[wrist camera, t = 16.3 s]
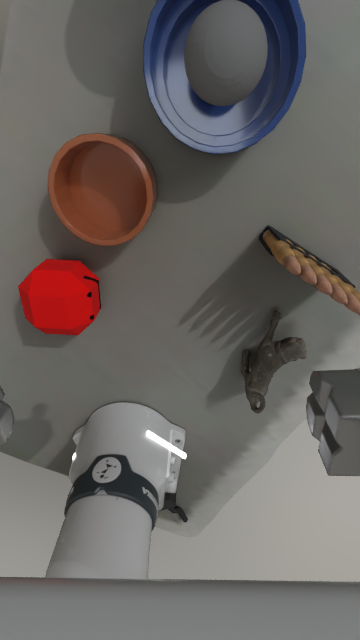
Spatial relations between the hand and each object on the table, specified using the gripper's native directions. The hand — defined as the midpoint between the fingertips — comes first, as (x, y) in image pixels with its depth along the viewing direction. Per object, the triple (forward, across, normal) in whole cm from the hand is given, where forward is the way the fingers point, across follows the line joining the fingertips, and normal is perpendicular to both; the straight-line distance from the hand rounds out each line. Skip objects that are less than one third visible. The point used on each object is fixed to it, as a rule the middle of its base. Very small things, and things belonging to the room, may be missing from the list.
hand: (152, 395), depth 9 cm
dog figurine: (+31, +10, -20) cm, 38 cm away
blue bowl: (+31, +4, +11) cm, 33 cm away
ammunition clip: (+31, +13, -7) cm, 35 cm away
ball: (+31, -15, -9) cm, 36 cm away
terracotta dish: (+31, -8, +2) cm, 32 cm away
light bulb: (+31, +4, +11) cm, 33 cm away
